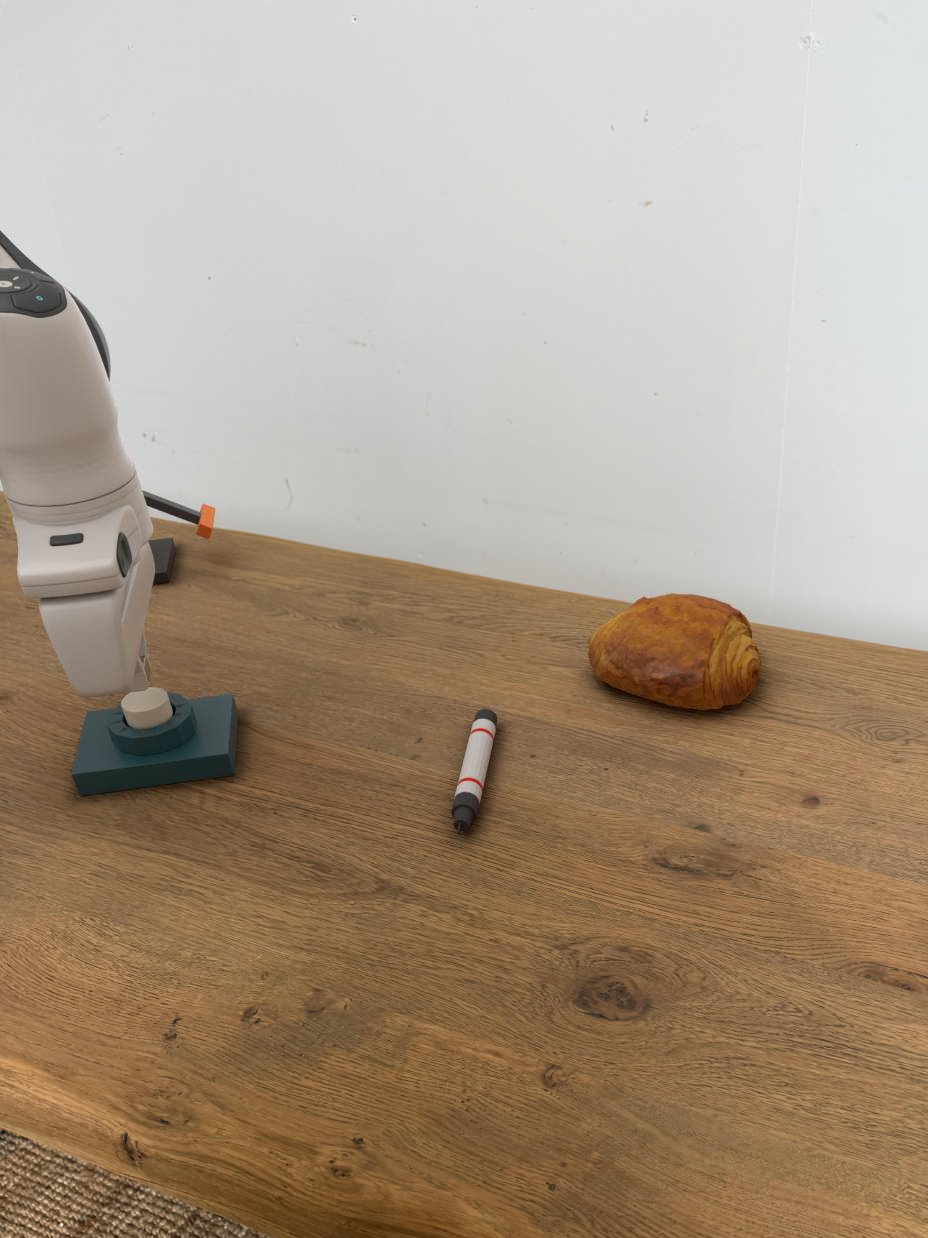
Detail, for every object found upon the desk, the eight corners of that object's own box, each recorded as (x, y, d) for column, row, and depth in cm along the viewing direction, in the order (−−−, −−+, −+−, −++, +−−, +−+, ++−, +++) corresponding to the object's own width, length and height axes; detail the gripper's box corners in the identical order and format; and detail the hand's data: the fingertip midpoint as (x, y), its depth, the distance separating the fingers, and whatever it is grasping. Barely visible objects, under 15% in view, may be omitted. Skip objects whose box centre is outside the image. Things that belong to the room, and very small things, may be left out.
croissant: (713, 757, 100) (727, 683, 94) (561, 685, 105) (566, 610, 99) (788, 673, 109) (805, 601, 103) (645, 611, 114) (654, 538, 108)
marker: (475, 727, 100) (473, 708, 99) (498, 728, 100) (496, 708, 99) (447, 844, 88) (444, 824, 87) (473, 845, 88) (470, 824, 87)
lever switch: (210, 523, 124) (217, 503, 123) (207, 544, 121) (214, 524, 119) (78, 473, 118) (84, 452, 117) (71, 493, 115) (77, 472, 113)
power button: (124, 732, 94) (118, 714, 93) (129, 708, 97) (123, 690, 96) (171, 726, 95) (165, 708, 93) (175, 702, 97) (169, 684, 96)
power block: (79, 796, 94) (63, 755, 91) (94, 732, 100) (79, 693, 98) (234, 775, 96) (222, 735, 93) (238, 714, 102) (227, 675, 100)
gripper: (60, 466, 92) (114, 622, 101) (11, 589, 77) (80, 760, 85) (144, 458, 93) (190, 613, 102) (112, 578, 77) (170, 748, 86)
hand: (139, 682), depth 93 cm, fingers closed
